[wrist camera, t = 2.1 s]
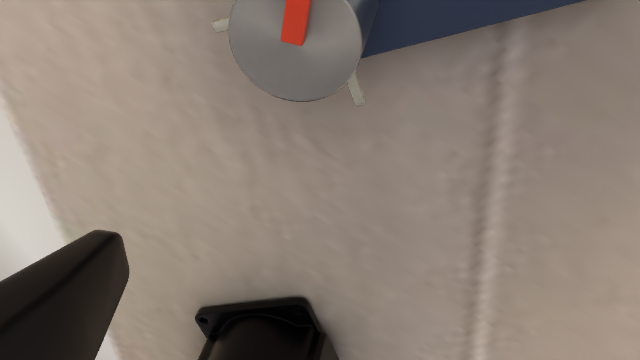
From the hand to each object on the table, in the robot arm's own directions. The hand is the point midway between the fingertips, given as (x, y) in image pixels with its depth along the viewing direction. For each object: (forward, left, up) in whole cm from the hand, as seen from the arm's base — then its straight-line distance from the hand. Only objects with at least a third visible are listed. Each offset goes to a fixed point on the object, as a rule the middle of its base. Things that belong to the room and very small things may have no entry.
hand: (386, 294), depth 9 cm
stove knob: (-2, +2, -11) cm, 11 cm away
